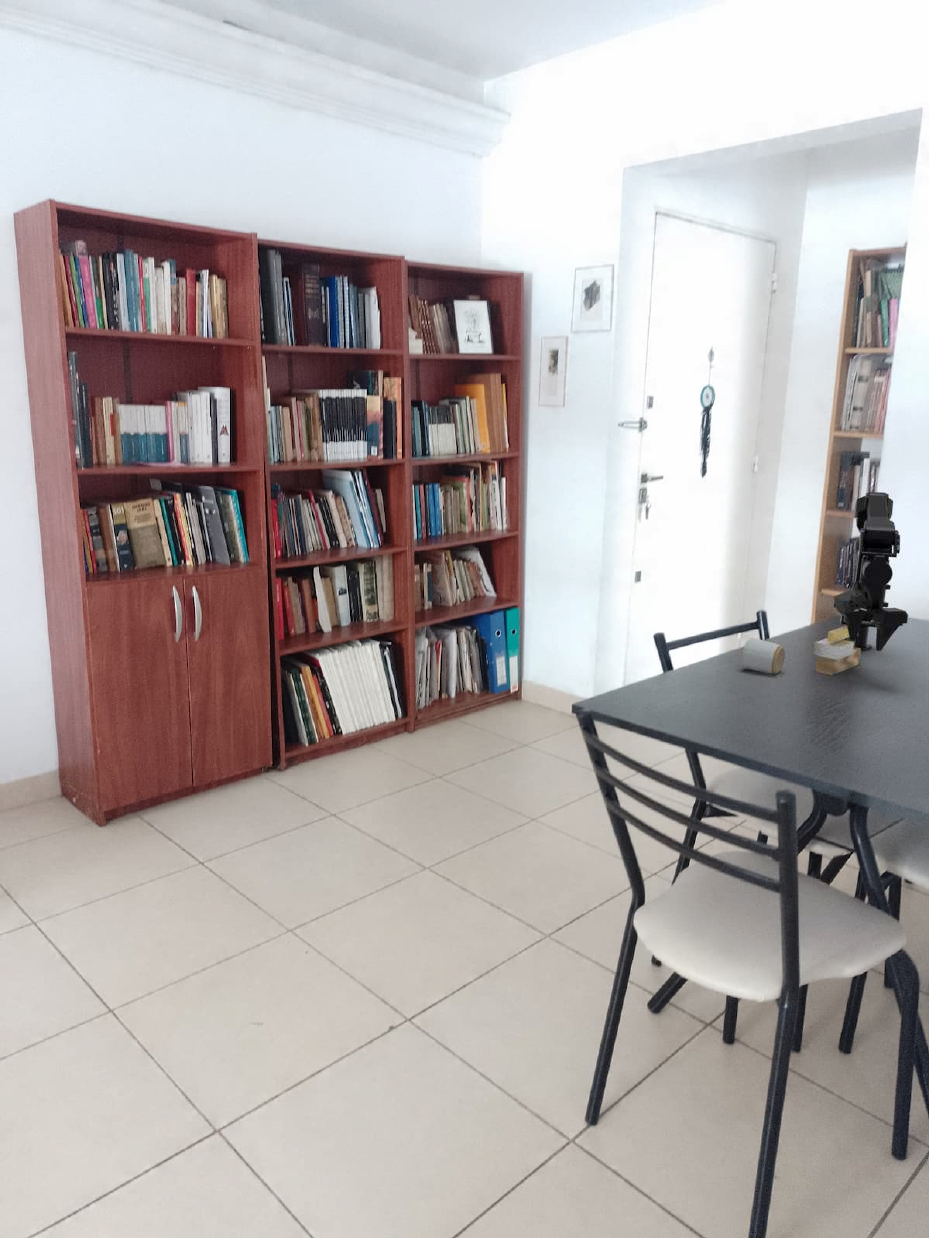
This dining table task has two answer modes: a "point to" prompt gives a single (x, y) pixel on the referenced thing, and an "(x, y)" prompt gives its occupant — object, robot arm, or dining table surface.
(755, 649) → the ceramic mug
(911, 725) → the dining table surface
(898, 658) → the dining table surface
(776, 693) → the dining table surface
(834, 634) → the lever
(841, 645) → the frosted white brick
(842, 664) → the tan block
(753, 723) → the dining table surface
